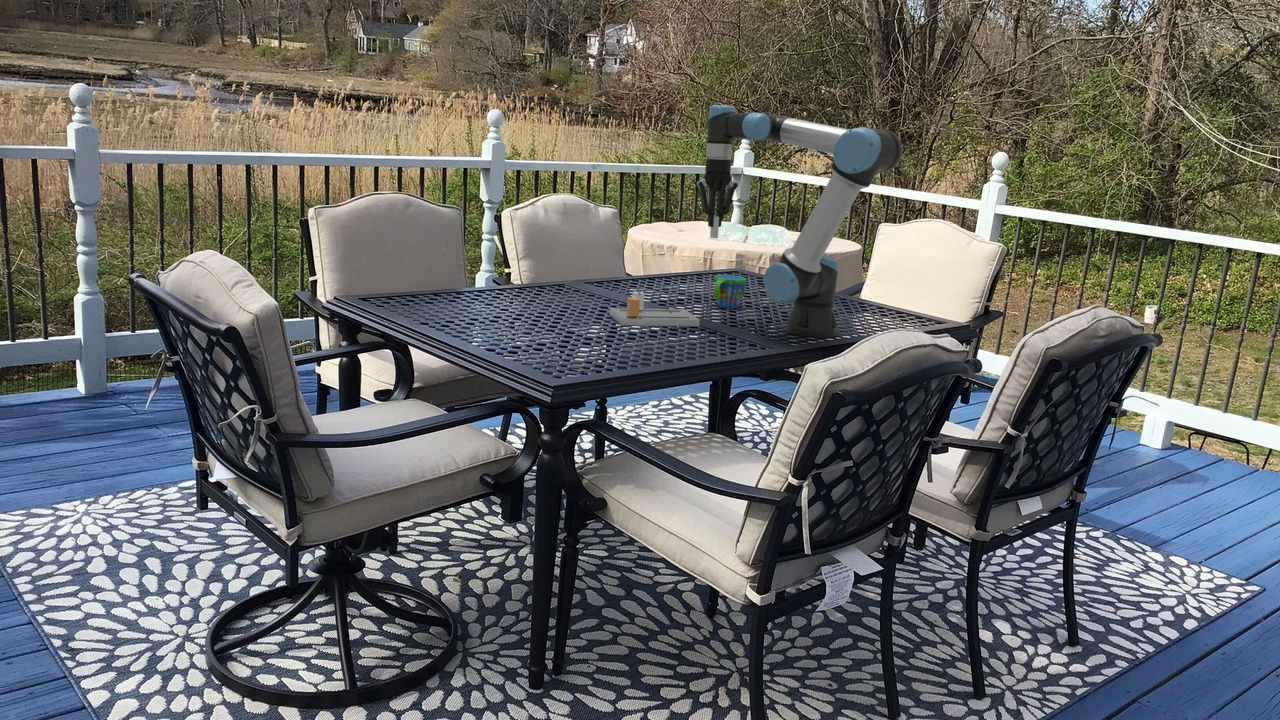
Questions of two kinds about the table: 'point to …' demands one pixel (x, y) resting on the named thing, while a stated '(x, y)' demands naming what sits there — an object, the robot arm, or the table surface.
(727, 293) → the snack cup
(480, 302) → the table surface
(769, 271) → the robot arm
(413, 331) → the table surface
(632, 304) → the block
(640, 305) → the block
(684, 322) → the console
